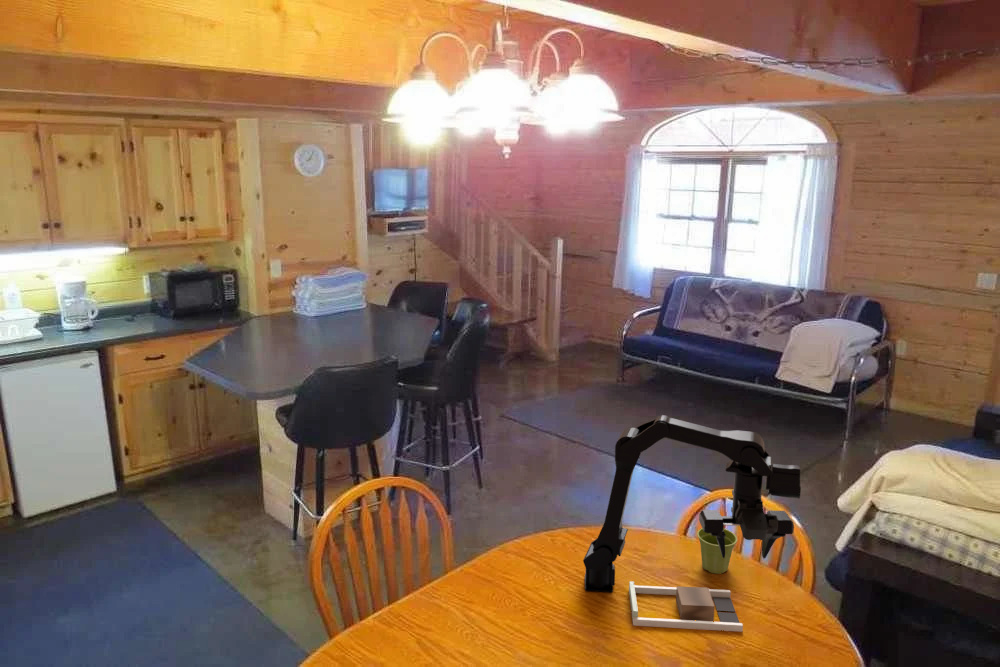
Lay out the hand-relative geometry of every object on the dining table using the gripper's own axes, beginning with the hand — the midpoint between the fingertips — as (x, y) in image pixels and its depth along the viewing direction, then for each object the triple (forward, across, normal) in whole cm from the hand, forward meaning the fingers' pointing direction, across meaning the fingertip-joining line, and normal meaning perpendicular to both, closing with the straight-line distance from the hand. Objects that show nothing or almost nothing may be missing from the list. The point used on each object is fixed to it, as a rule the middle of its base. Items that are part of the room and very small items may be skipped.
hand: (743, 557), depth 152 cm
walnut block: (+14, -10, 0) cm, 17 cm away
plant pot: (+14, -1, +18) cm, 22 cm away
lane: (+13, -13, 0) cm, 18 cm away
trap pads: (+13, -3, -1) cm, 14 cm away
